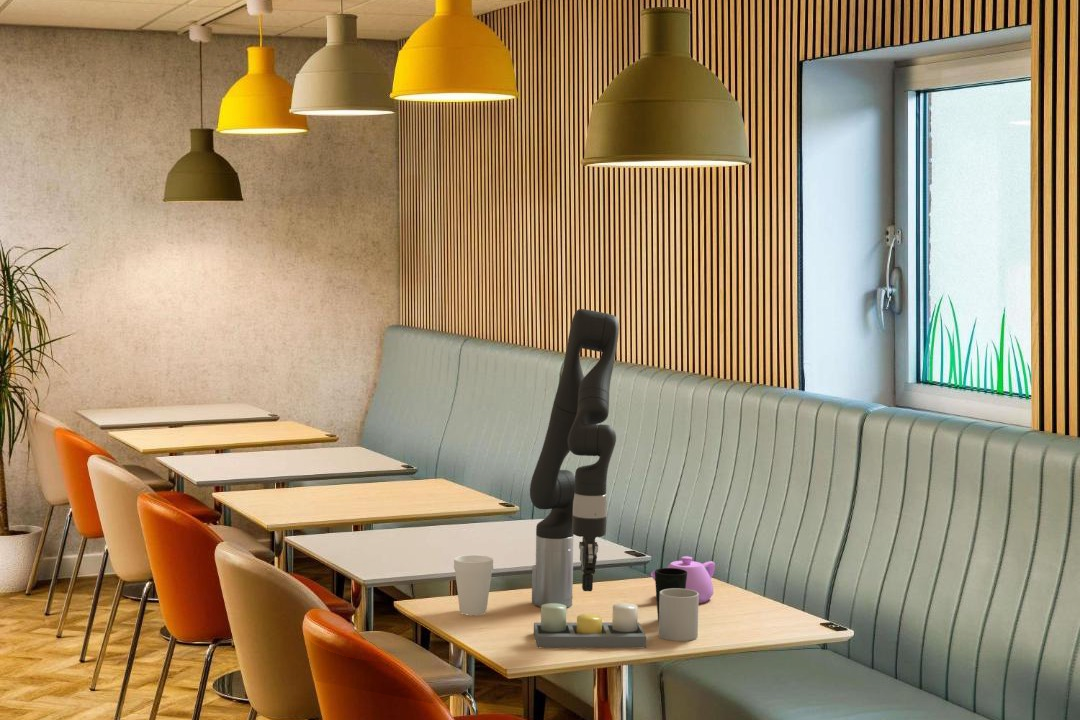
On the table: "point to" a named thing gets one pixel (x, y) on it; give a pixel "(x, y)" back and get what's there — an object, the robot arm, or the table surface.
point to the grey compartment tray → (589, 638)
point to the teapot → (696, 576)
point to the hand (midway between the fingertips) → (587, 590)
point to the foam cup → (473, 582)
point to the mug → (678, 614)
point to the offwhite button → (625, 617)
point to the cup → (669, 580)
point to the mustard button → (589, 624)
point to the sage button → (553, 617)
